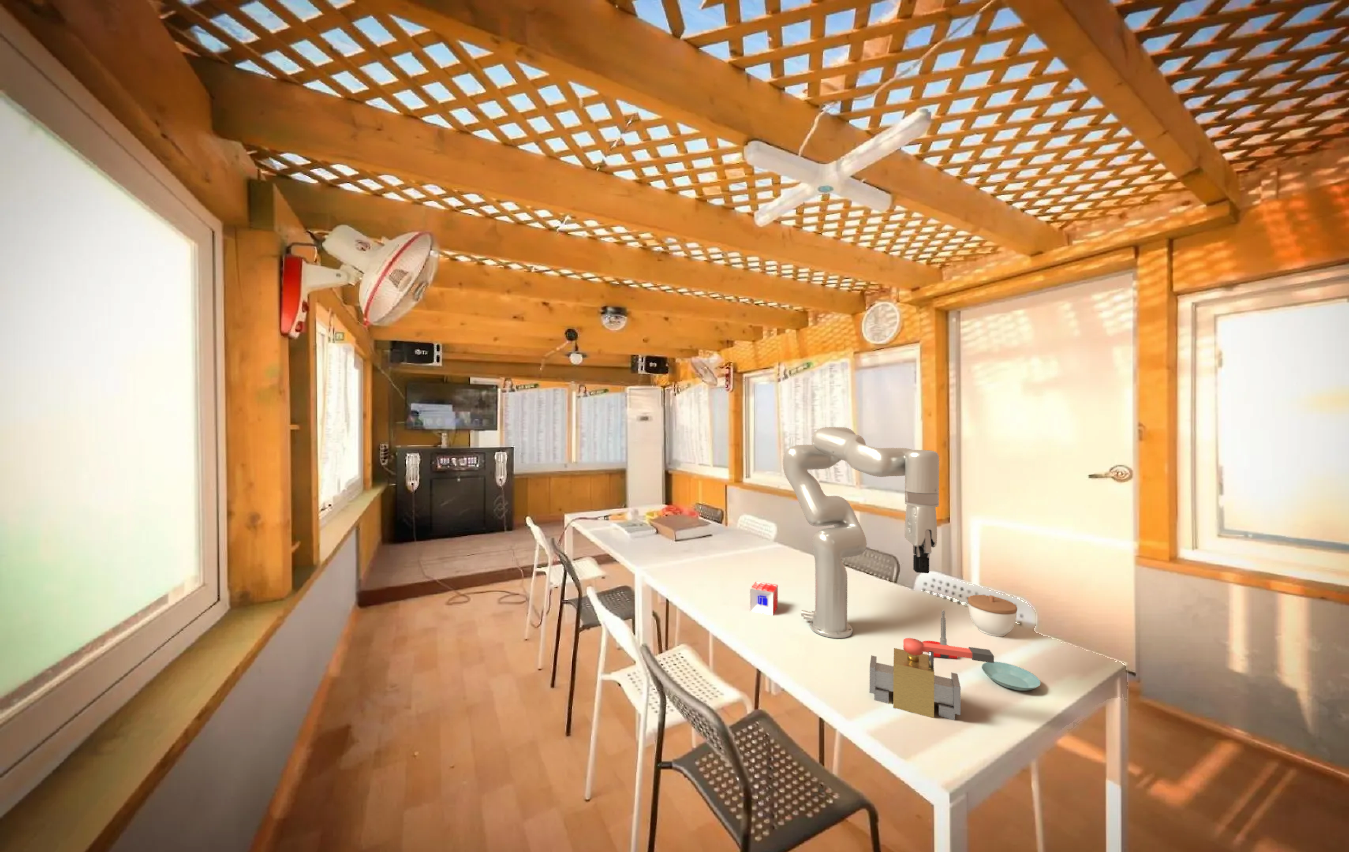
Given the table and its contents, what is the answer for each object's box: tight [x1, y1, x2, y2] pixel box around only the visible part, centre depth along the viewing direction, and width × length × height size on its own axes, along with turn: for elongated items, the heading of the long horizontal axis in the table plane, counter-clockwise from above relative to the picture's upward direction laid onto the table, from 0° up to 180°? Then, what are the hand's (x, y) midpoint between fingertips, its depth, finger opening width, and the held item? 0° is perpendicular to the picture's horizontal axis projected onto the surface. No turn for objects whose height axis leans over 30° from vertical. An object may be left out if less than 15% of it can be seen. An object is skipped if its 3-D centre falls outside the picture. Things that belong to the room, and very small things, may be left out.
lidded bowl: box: [967, 594, 1018, 637], centre depth 141 cm, size 13×13×11 cm
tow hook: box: [922, 609, 958, 660], centre depth 129 cm, size 8×13×9 cm
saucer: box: [981, 661, 1041, 692], centre depth 113 cm, size 12×12×2 cm
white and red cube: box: [749, 581, 779, 616], centre depth 157 cm, size 8×8×8 cm
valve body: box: [869, 647, 962, 721], centre depth 104 cm, size 18×8×14 cm, turn 63°
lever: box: [902, 637, 995, 663], centre depth 102 cm, size 18×4×2 cm, turn 72°
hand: (921, 571), depth 114 cm, fingers closed
